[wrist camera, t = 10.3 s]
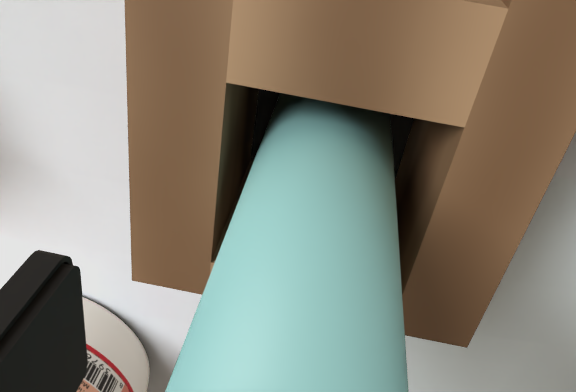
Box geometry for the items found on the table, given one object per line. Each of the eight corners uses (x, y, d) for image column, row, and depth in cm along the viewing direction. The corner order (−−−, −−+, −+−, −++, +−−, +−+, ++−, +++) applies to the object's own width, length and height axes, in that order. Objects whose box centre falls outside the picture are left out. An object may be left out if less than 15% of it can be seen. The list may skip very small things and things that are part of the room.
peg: (402, 64, 17) (451, 423, 6) (375, 164, 19) (377, 560, 9) (287, 43, 17) (146, 359, 7) (272, 144, 19) (147, 510, 9)
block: (670, -355, 12) (897, -509, 7) (443, 225, 20) (467, 347, 15) (218, -429, 12) (107, -631, 7) (189, 176, 21) (132, 280, 16)
